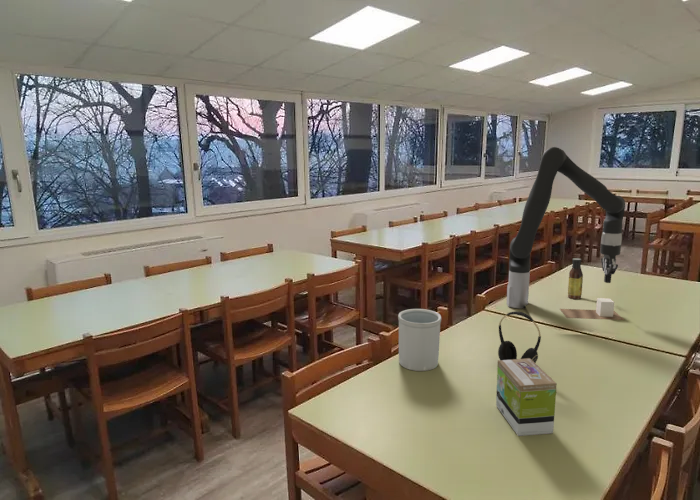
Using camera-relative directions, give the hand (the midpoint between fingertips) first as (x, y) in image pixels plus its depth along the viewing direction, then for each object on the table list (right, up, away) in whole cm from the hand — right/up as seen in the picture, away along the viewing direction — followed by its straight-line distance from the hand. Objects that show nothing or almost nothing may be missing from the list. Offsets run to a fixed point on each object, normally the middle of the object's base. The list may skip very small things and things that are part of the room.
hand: (607, 282), depth 198 cm
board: (-5, -16, +4) cm, 17 cm away
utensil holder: (-87, -26, -36) cm, 98 cm away
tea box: (-64, -33, -72) cm, 102 cm away
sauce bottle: (+1, -10, +32) cm, 34 cm away
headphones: (-54, -26, -42) cm, 74 cm away
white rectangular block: (0, -14, +3) cm, 15 cm away
